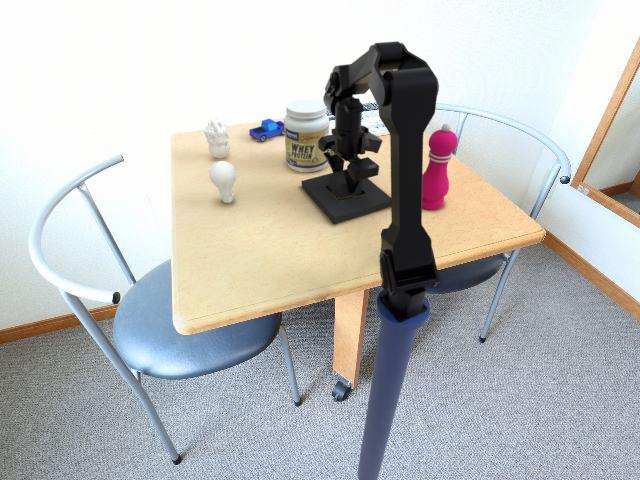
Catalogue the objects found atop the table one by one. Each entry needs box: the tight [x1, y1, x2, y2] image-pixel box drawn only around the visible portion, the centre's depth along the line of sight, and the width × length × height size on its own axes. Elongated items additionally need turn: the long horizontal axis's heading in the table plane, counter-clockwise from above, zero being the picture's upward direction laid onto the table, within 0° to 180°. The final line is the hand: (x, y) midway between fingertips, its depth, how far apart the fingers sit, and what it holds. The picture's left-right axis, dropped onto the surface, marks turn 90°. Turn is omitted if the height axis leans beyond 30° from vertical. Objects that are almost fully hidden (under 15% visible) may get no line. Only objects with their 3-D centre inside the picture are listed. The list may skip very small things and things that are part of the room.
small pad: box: [328, 168, 362, 200], centre depth 90 cm, size 6×6×4 cm
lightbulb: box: [208, 160, 237, 204], centre depth 87 cm, size 6×6×11 cm
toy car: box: [248, 118, 285, 143], centre depth 119 cm, size 7×12×5 cm, turn 127°
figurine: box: [203, 117, 231, 159], centre depth 106 cm, size 7×7×12 cm
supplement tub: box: [283, 98, 330, 173], centre depth 101 cm, size 12×12×17 cm
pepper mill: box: [422, 122, 459, 211], centre depth 84 cm, size 7×7×20 cm
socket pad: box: [300, 168, 391, 225], centre depth 92 cm, size 18×16×2 cm
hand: (345, 187), depth 91 cm, fingers closed on small pad, 6 cm apart
